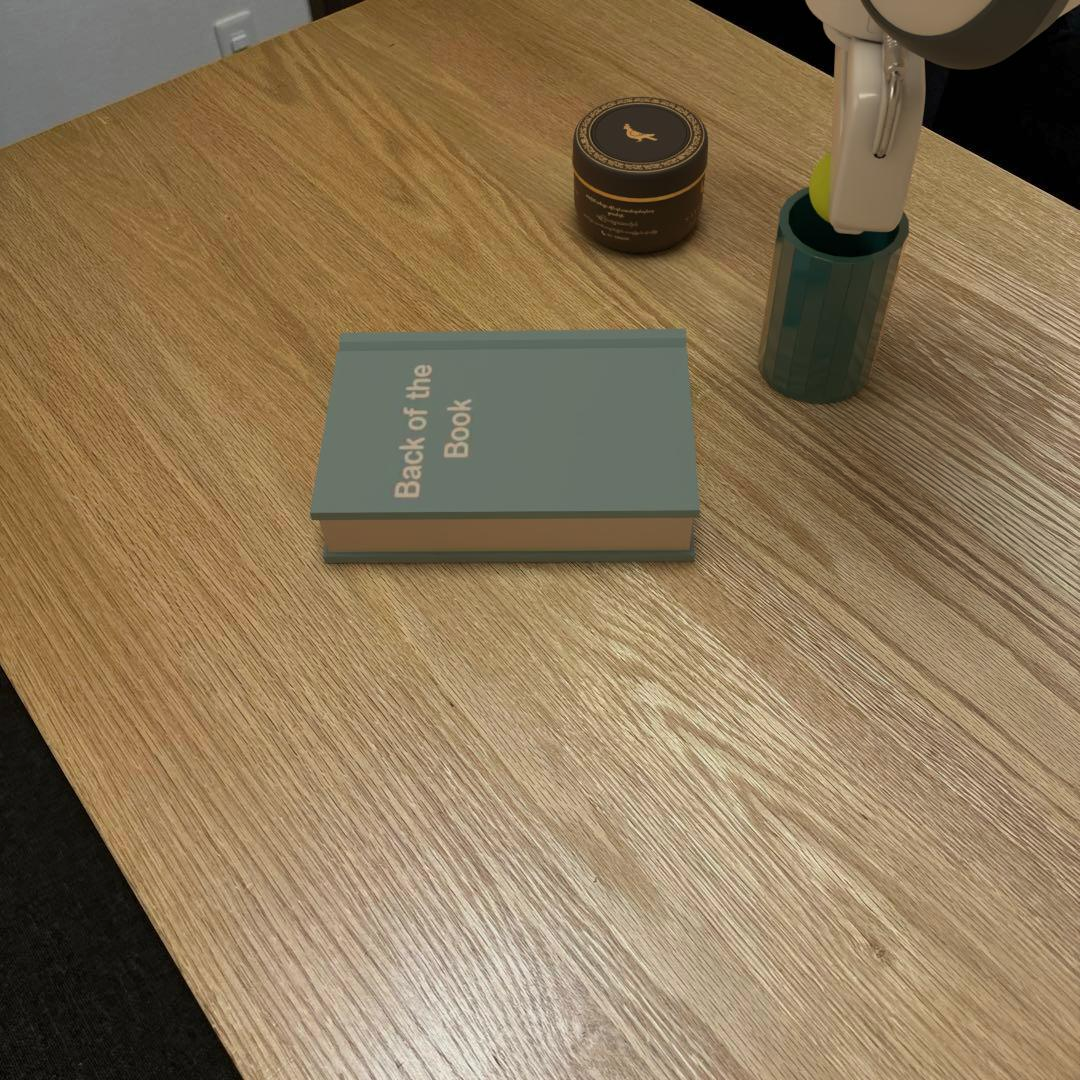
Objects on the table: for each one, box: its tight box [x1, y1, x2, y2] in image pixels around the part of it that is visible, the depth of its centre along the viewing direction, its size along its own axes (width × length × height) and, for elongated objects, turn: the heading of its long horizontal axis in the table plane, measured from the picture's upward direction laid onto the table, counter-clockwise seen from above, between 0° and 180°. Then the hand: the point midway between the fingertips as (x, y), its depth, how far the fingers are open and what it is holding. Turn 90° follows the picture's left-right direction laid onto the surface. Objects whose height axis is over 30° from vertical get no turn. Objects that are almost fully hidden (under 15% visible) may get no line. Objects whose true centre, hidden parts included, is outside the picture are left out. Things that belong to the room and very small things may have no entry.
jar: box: [571, 96, 709, 255], centre depth 89 cm, size 10×10×8 cm
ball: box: [808, 151, 831, 223], centre depth 71 cm, size 5×5×5 cm
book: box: [309, 328, 701, 564], centre depth 76 cm, size 23×16×5 cm
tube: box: [757, 186, 910, 405], centre depth 78 cm, size 8×8×12 cm
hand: (848, 194), depth 71 cm, fingers closed on ball, 4 cm apart
